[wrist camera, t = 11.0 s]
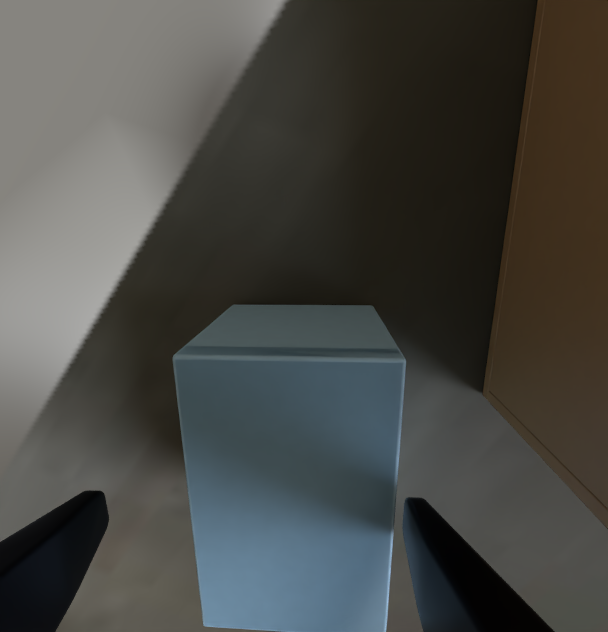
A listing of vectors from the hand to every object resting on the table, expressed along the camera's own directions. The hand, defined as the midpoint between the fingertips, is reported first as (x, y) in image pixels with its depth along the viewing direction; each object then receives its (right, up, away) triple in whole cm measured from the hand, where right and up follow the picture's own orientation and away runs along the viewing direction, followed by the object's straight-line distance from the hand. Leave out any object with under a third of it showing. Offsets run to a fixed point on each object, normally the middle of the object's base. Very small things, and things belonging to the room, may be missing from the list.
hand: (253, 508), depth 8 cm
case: (+1, +1, +5) cm, 5 cm away
